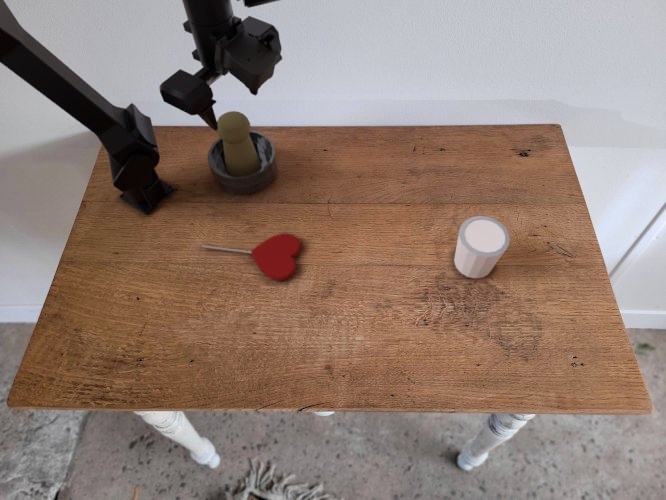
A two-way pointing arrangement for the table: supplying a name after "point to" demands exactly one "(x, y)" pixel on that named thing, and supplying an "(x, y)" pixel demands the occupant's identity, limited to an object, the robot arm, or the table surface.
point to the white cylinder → (480, 246)
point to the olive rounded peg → (237, 144)
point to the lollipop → (274, 255)
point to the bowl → (248, 182)
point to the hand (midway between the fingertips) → (235, 111)
